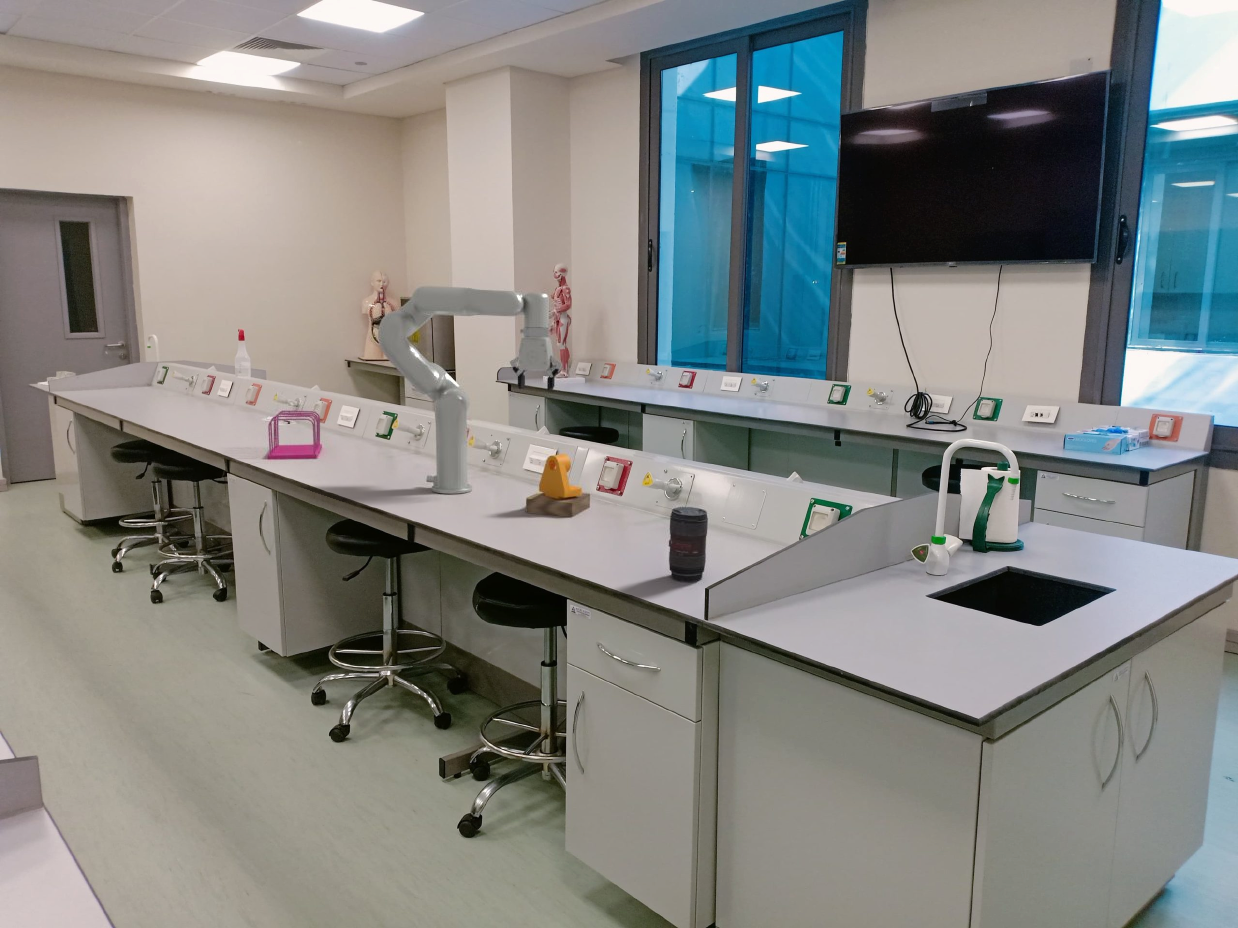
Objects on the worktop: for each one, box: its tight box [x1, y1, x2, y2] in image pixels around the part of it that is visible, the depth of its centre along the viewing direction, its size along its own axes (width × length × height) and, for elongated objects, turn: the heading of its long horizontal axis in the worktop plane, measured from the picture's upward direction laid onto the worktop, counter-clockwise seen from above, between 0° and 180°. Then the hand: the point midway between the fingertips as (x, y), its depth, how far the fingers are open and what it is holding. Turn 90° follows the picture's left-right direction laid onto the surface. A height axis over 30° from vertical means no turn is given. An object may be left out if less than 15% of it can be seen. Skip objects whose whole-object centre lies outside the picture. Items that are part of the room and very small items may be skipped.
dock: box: [525, 491, 591, 518], centre depth 259 cm, size 14×14×4 cm
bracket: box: [538, 453, 583, 499], centre depth 258 cm, size 11×7×12 cm, turn 47°
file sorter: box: [267, 410, 323, 460], centre depth 344 cm, size 17×25×16 cm
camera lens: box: [668, 506, 709, 583], centre depth 195 cm, size 8×8×15 cm
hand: (535, 389), depth 280 cm, fingers open, 9 cm apart
